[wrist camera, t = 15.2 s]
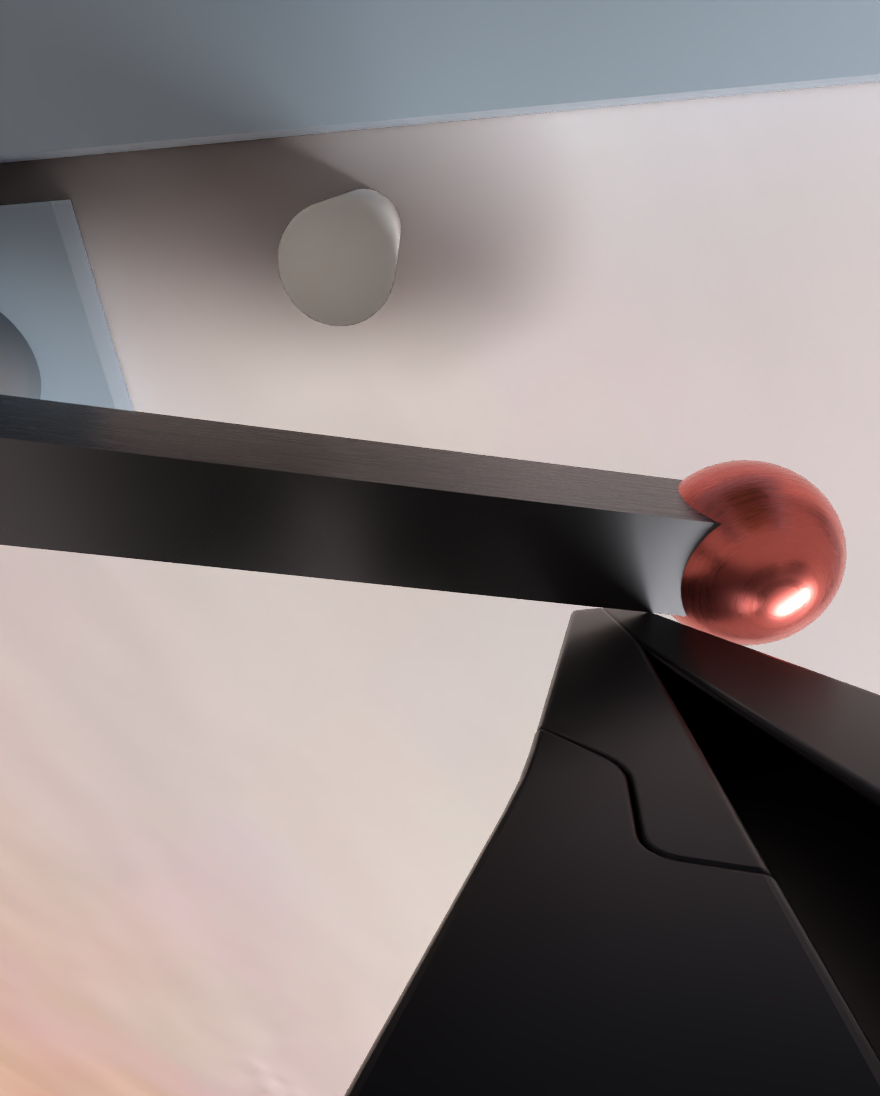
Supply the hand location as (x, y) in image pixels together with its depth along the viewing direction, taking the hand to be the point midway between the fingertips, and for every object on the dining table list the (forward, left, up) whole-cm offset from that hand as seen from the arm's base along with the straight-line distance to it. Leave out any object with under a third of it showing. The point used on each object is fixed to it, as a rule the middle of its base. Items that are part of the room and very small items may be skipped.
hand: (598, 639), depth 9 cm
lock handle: (-4, 0, -1) cm, 4 cm away
